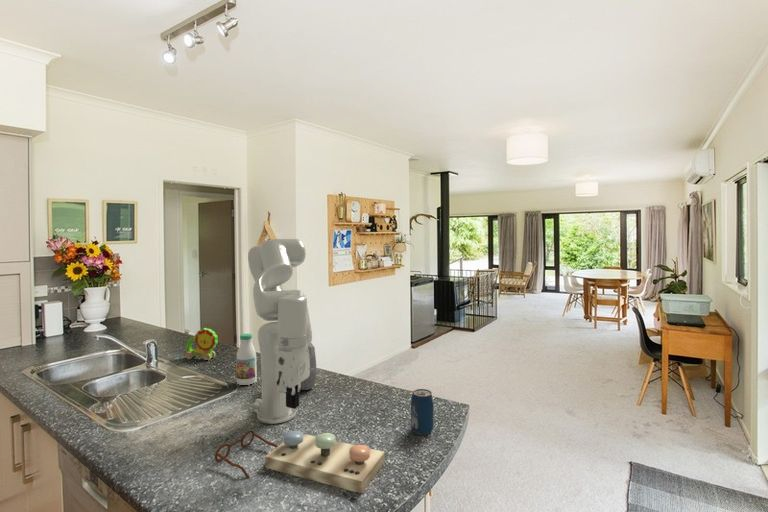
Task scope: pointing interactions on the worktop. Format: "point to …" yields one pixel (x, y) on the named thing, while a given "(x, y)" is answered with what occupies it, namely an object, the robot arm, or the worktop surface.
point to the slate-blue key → (293, 438)
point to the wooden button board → (325, 464)
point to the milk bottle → (246, 361)
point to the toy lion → (202, 344)
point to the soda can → (422, 411)
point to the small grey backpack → (310, 380)
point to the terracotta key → (359, 453)
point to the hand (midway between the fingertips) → (292, 406)
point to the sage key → (325, 440)
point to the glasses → (241, 446)
